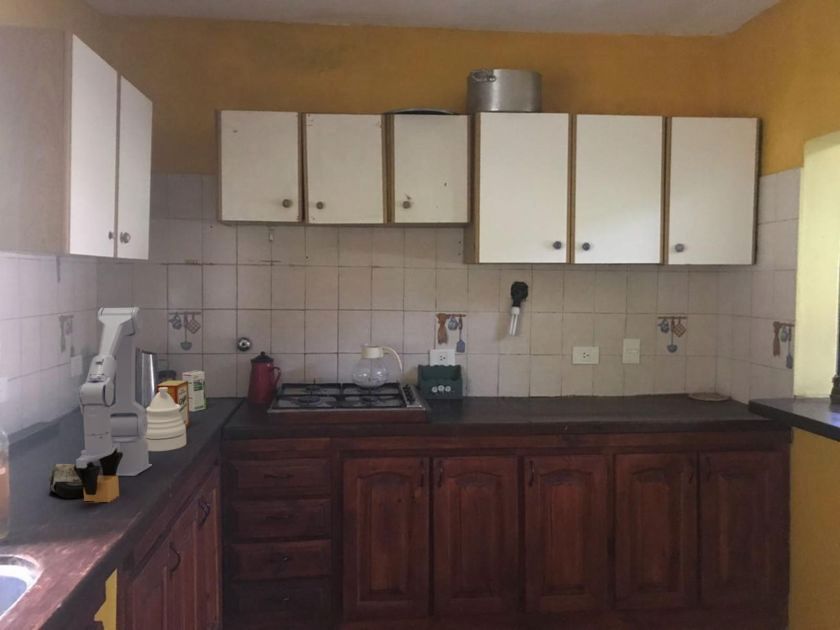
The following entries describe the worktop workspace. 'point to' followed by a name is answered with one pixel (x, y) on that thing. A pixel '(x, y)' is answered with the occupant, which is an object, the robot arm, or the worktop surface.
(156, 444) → the honey pot
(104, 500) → the block
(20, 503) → the worktop surface
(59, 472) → the caster wheel
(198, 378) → the syrup box
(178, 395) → the baking soda box
